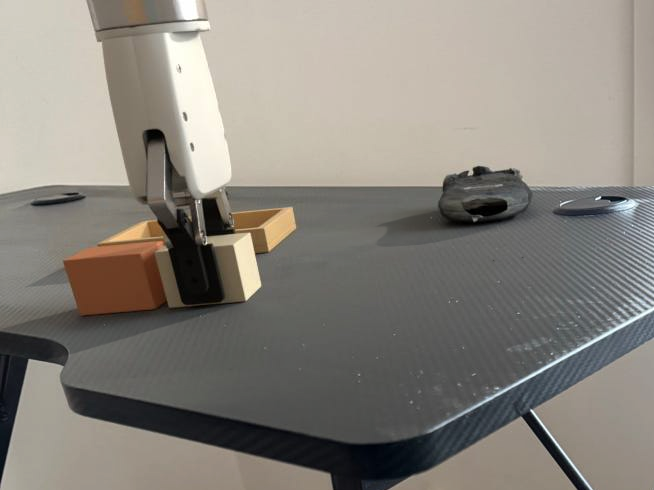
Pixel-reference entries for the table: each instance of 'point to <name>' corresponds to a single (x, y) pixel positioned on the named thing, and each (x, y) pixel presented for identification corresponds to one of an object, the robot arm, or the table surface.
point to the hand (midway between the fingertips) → (215, 290)
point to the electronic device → (497, 186)
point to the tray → (259, 223)
